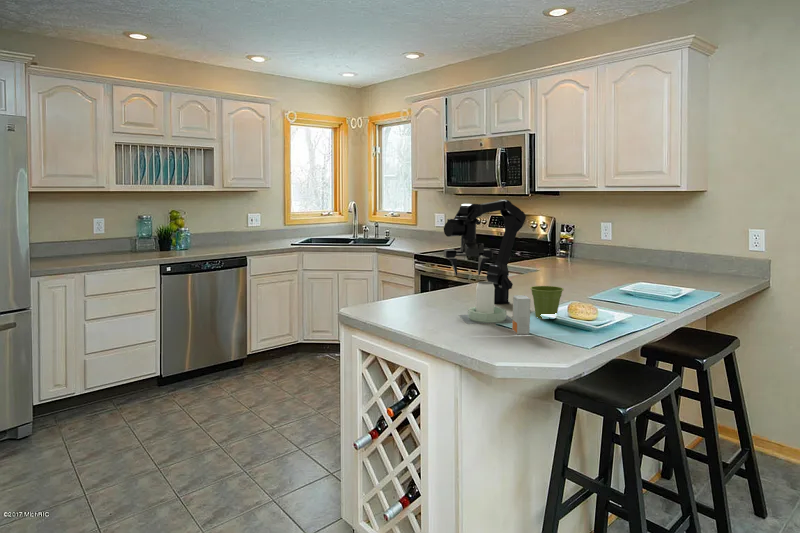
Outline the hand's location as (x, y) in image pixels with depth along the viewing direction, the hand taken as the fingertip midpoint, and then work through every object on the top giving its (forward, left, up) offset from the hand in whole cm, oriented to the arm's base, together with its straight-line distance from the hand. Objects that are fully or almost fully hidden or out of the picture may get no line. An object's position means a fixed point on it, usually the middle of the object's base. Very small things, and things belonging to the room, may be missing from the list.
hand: (467, 275), depth 219 cm
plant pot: (-24, +22, -13) cm, 35 cm away
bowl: (-2, +22, -13) cm, 25 cm away
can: (-2, +21, -12) cm, 24 cm away
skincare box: (-8, +41, -13) cm, 44 cm away
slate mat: (-2, +22, -13) cm, 26 cm away
